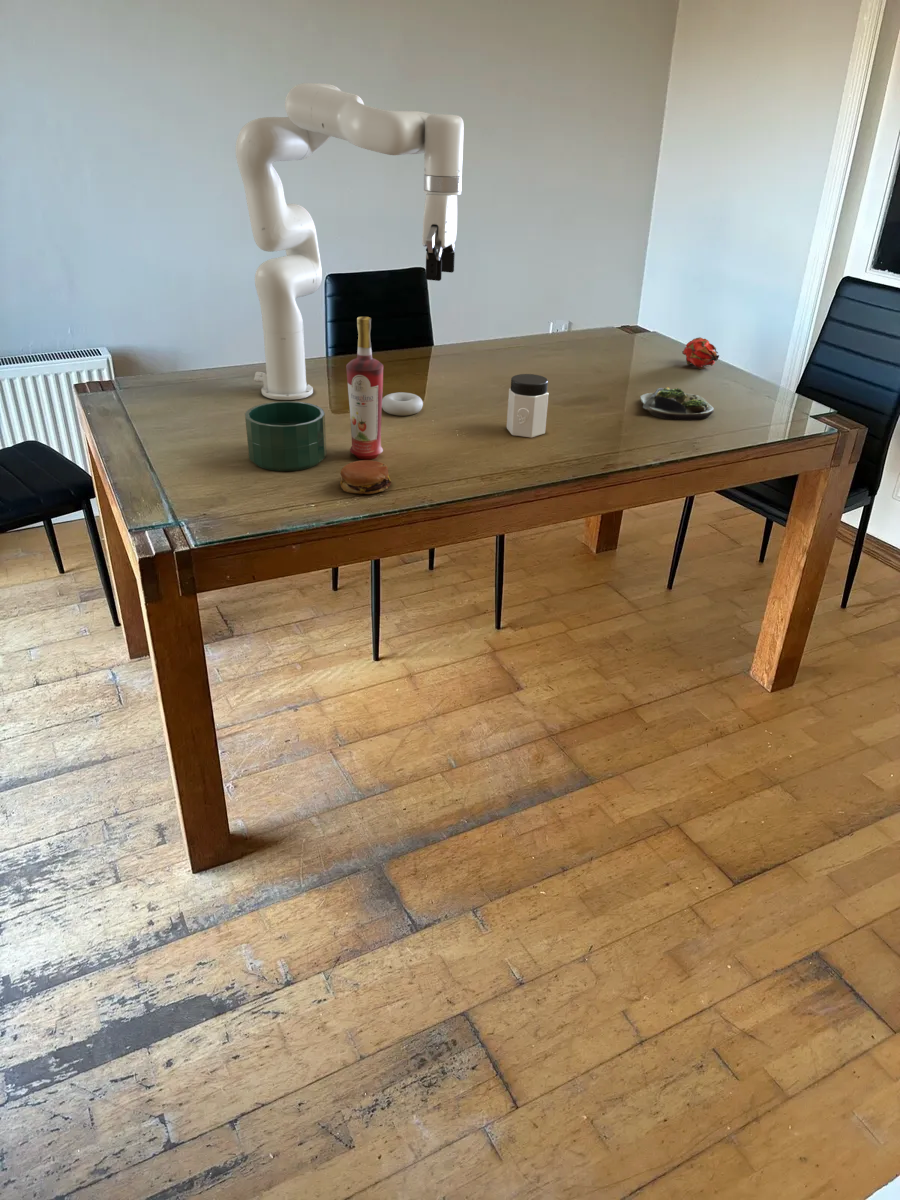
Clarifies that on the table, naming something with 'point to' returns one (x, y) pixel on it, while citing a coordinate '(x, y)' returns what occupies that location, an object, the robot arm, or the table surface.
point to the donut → (402, 404)
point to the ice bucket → (286, 435)
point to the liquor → (365, 396)
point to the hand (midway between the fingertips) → (440, 275)
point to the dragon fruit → (700, 353)
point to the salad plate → (676, 405)
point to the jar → (527, 405)
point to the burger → (365, 477)
